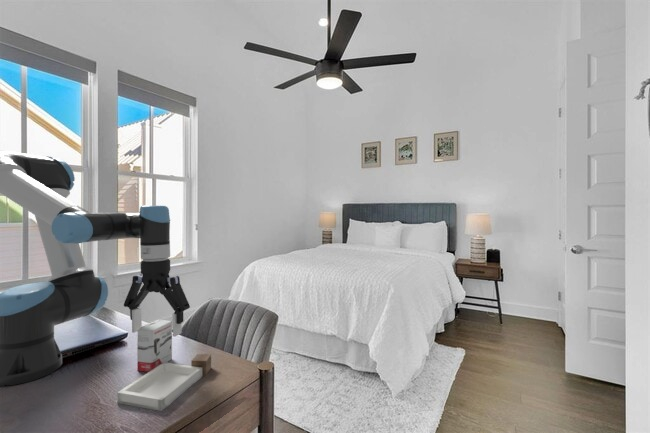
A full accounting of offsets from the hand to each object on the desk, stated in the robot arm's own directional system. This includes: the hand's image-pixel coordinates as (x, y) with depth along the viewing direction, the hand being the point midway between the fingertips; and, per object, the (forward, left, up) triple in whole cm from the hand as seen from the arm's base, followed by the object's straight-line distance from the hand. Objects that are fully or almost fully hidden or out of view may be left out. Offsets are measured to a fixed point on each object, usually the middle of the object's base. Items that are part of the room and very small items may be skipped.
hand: (156, 332), depth 91 cm
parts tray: (+11, -10, -9) cm, 17 cm away
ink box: (0, 0, -10) cm, 10 cm away
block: (+15, 0, -10) cm, 17 cm away
